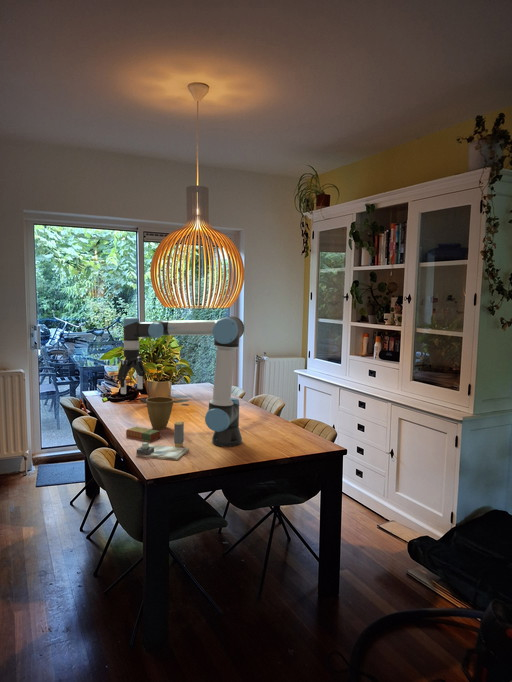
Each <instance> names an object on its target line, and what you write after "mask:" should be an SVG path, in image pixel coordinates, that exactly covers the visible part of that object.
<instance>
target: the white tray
mask: <svg viewBox="0 0 512 682" xmlns="http://www.w3.org/2000/svg"><path fill="white" fill-rule="evenodd" d="M188 451H189V447H183V446H182V447H175V446H171V445H170V446H169V445H160V444H158V445H157V444H152V443H151V444H149V449H148V450H142V445H141V446H139V448H136V457H138V458H139V457H141V458H149V459H159V460H160V459H161V460H170V461H179V460H180V458H182V457H183V456H184V455H185V454H186V453H188Z"/></svg>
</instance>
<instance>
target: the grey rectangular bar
mask: <svg viewBox="0 0 512 682" xmlns="http://www.w3.org/2000/svg"><path fill="white" fill-rule="evenodd" d="M184 425H185V422H184V421H175V422H174V426H173V429H174V435H173V437H174V439H173V440H174V442H173V443H174V447H182V448H183V446H184V439H185V437H184V431H185V430H184V429H185V426H184Z"/></svg>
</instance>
